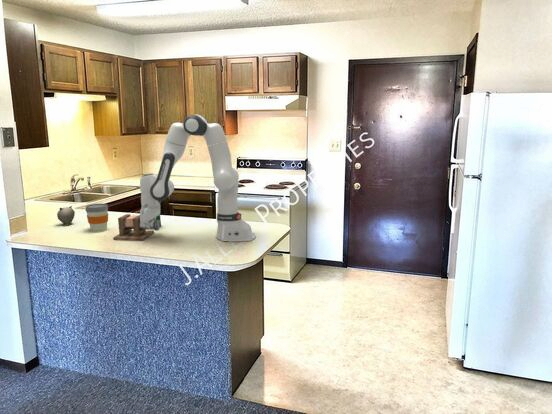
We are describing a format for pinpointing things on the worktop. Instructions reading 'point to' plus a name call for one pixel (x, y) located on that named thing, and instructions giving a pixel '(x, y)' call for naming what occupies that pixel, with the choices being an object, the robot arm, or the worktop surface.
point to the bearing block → (129, 233)
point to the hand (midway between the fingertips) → (151, 226)
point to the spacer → (130, 220)
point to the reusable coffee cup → (97, 216)
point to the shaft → (154, 225)
